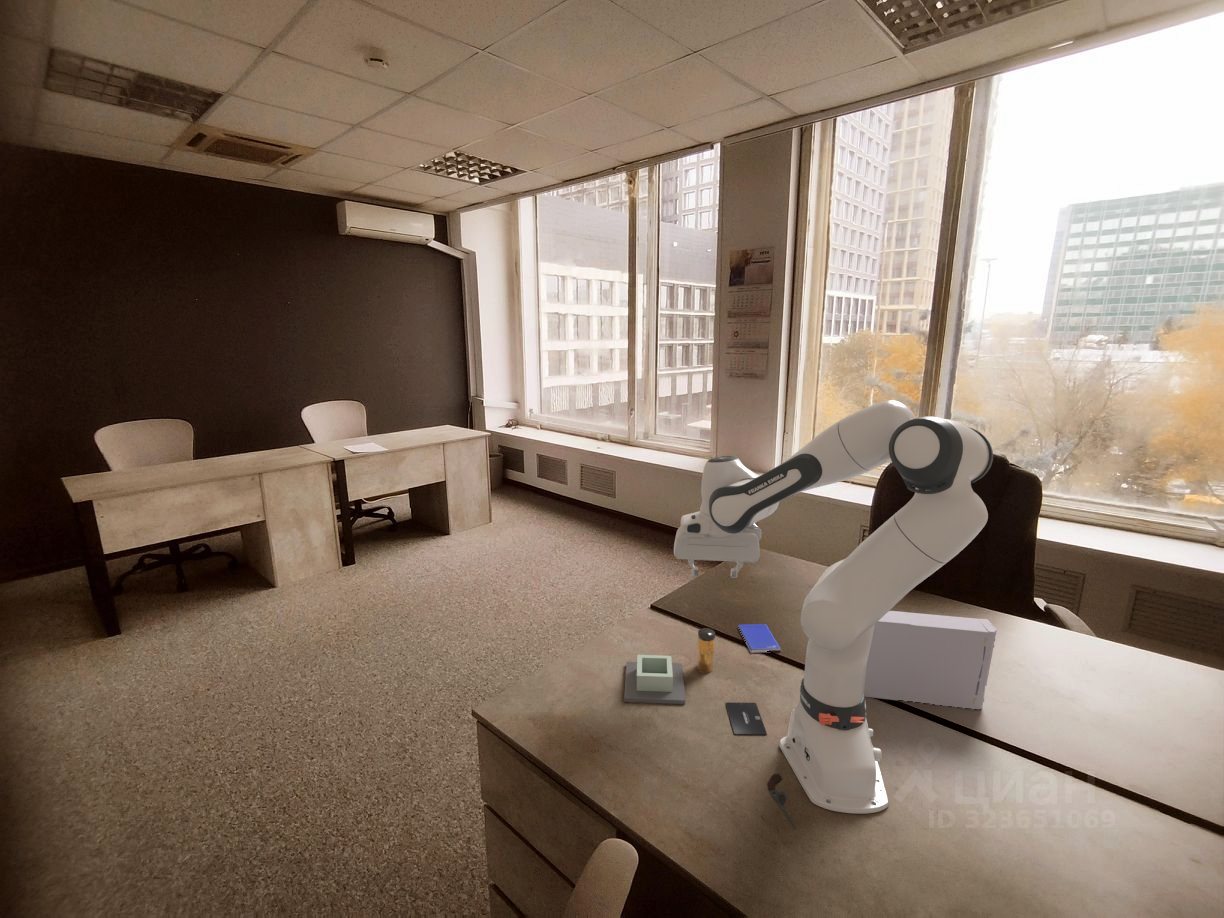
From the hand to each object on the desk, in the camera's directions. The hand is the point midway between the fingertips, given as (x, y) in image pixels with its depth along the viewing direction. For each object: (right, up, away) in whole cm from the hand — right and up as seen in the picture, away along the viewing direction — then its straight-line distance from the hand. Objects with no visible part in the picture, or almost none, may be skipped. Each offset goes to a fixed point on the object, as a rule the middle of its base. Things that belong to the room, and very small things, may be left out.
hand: (714, 575), depth 133 cm
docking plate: (-15, -26, 0) cm, 30 cm away
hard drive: (+16, -22, +18) cm, 33 cm away
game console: (+46, -27, -5) cm, 54 cm away
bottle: (-1, -25, +6) cm, 25 cm away
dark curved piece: (+7, -35, -34) cm, 49 cm away
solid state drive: (+5, -30, -12) cm, 32 cm away
